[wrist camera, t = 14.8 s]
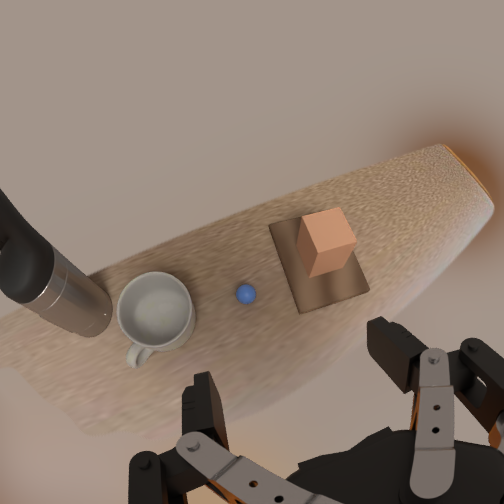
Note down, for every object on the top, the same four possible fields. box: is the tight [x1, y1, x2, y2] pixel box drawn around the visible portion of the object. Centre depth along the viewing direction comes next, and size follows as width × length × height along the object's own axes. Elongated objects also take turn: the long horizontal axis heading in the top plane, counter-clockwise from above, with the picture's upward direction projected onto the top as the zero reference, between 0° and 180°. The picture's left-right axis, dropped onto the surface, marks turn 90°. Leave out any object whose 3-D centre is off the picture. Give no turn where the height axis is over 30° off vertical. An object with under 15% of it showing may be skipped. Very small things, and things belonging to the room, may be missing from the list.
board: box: [269, 217, 370, 314], centre depth 48 cm, size 12×16×1 cm
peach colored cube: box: [296, 207, 357, 278], centre depth 44 cm, size 6×6×8 cm
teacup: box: [117, 272, 196, 368], centre depth 40 cm, size 14×11×8 cm
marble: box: [236, 284, 256, 304], centre depth 45 cm, size 3×3×3 cm
